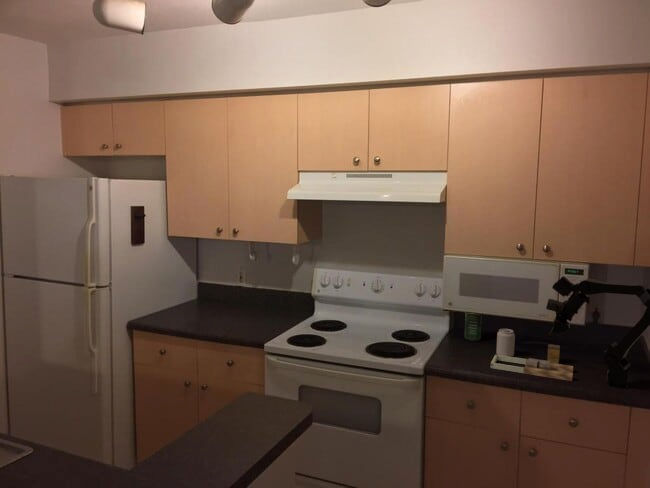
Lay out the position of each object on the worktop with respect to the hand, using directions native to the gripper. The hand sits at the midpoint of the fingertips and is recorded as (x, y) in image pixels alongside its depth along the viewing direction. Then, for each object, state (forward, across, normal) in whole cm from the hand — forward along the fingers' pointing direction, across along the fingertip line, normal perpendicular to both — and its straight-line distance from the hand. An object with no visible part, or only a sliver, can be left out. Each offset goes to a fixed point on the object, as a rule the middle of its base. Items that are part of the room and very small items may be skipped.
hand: (551, 331), depth 222 cm
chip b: (+14, +12, +2) cm, 18 cm away
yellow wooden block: (+13, -2, +9) cm, 16 cm away
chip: (+11, +12, +6) cm, 17 cm away
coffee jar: (+36, -20, -22) cm, 47 cm away
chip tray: (+19, +13, -6) cm, 24 cm away
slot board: (+12, +12, +7) cm, 18 cm away
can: (+24, -2, -8) cm, 25 cm away
